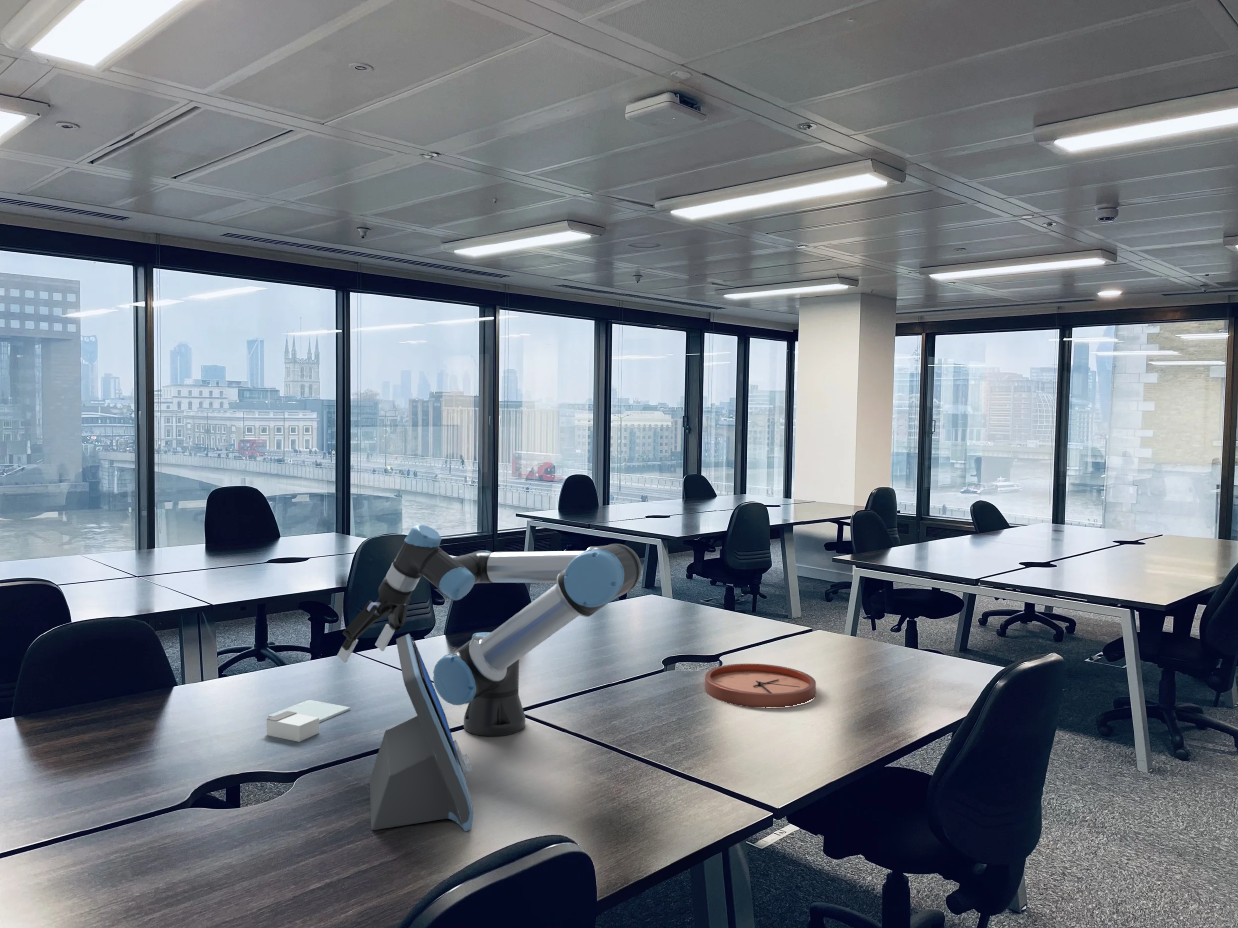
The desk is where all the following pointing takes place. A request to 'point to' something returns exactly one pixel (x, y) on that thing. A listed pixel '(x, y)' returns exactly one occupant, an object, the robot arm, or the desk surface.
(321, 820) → the desk surface
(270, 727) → the card deck box
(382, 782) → the touchscreen device
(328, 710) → the mat
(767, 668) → the clock
